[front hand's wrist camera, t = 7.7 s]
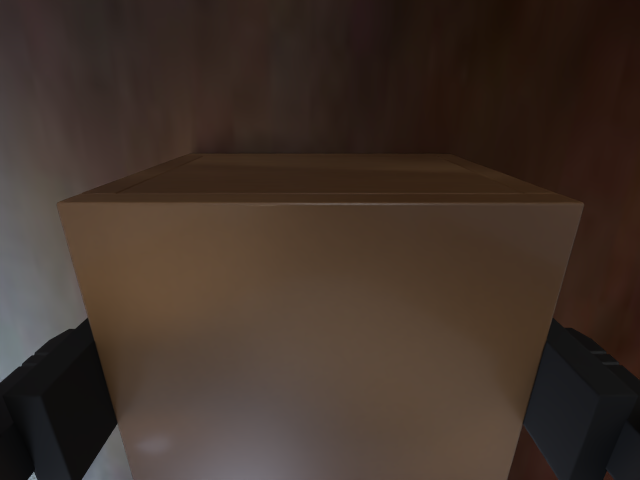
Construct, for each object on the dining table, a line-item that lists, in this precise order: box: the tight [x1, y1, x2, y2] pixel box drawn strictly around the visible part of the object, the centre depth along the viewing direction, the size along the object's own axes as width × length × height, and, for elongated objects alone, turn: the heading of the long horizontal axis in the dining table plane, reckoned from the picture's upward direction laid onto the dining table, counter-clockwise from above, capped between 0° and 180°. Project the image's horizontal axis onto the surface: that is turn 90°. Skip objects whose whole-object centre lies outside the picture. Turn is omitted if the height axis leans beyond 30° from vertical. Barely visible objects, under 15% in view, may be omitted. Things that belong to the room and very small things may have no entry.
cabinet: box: [57, 153, 584, 480], centre depth 14 cm, size 19×11×8 cm, turn 0°
